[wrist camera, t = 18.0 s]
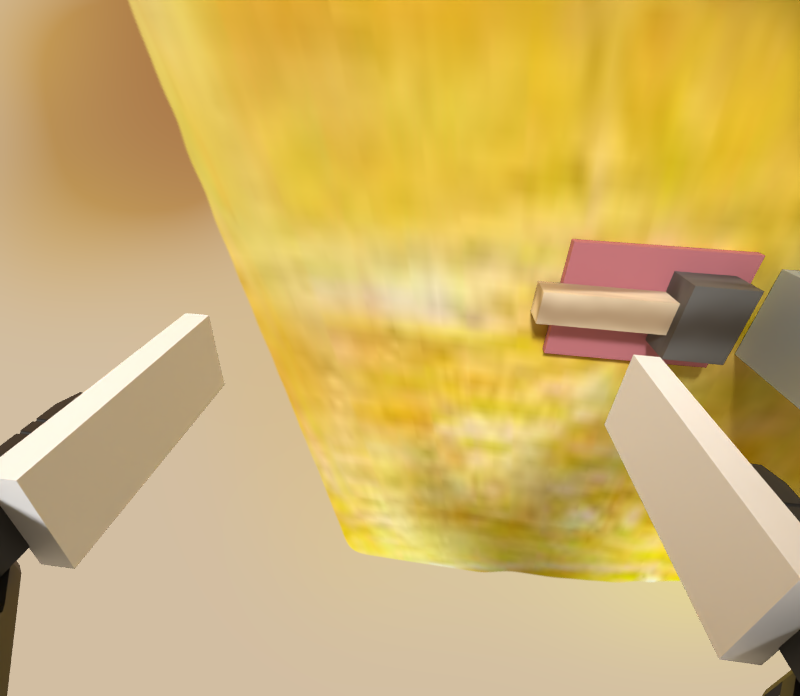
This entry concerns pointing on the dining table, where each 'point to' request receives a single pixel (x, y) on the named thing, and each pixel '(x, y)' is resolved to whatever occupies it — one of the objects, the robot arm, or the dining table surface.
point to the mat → (640, 272)
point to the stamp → (658, 313)
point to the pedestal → (777, 338)
